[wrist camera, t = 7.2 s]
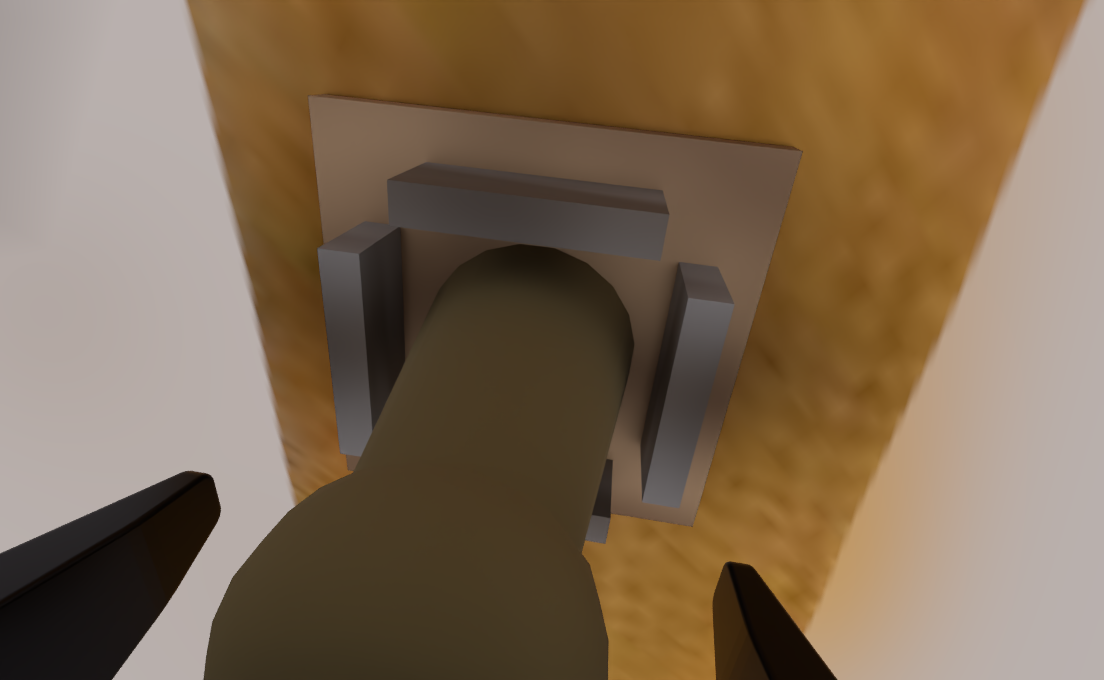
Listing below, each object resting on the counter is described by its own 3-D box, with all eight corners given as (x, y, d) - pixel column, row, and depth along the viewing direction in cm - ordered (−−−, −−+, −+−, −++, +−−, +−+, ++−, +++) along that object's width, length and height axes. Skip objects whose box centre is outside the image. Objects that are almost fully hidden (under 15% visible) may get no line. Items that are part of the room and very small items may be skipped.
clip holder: (690, 509, 19) (701, 591, 16) (358, 455, 19) (309, 523, 17) (793, 146, 13) (840, 169, 10) (323, 94, 14) (243, 100, 11)
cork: (445, 428, 17) (210, 886, 8) (412, 247, 15) (-16, 593, 5) (634, 432, 16) (642, 954, 7) (634, 240, 14) (646, 645, 4)
